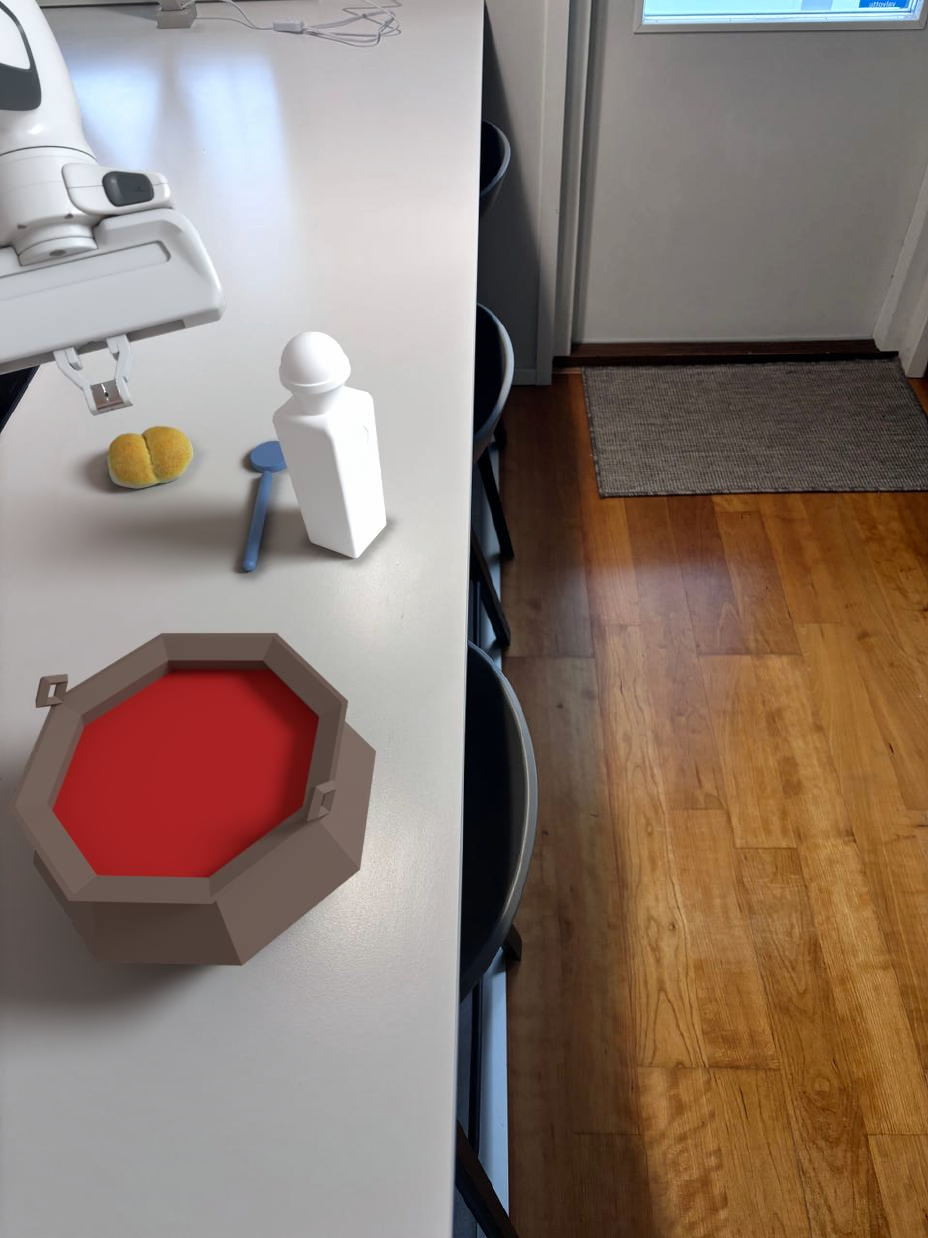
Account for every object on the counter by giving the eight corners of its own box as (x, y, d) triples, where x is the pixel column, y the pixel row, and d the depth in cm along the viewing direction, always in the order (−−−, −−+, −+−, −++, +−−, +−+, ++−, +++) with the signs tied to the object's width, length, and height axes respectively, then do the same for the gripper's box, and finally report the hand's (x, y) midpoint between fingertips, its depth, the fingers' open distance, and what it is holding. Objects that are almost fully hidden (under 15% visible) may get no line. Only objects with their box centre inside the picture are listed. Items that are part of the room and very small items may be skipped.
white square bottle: (357, 564, 91) (317, 367, 74) (302, 544, 93) (251, 347, 77) (394, 522, 94) (363, 325, 78) (340, 503, 97) (298, 308, 80)
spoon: (272, 572, 91) (270, 563, 90) (227, 575, 91) (224, 566, 90) (294, 446, 104) (292, 437, 103) (254, 448, 104) (252, 439, 103)
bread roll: (201, 477, 101) (191, 447, 98) (116, 499, 99) (103, 470, 96) (189, 433, 106) (179, 403, 103) (108, 453, 105) (96, 424, 102)
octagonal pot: (2, 933, 68) (-116, 817, 56) (199, 687, 82) (139, 551, 70) (283, 1082, 60) (216, 985, 48) (449, 782, 74) (430, 648, 62)
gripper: (-123, 235, 62) (-52, 440, 63) (186, 169, 66) (248, 363, 67) (-87, 268, 68) (-24, 454, 69) (194, 205, 72) (250, 383, 73)
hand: (112, 409), depth 68 cm, fingers closed
